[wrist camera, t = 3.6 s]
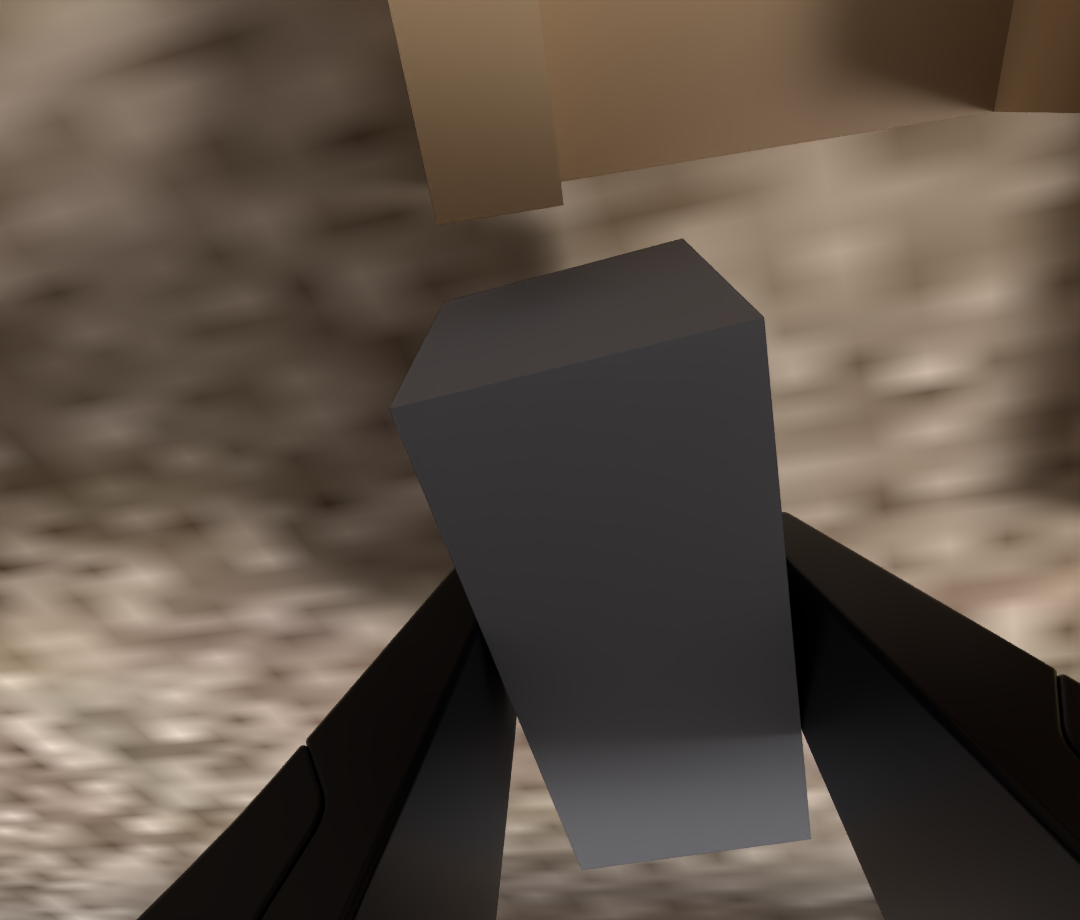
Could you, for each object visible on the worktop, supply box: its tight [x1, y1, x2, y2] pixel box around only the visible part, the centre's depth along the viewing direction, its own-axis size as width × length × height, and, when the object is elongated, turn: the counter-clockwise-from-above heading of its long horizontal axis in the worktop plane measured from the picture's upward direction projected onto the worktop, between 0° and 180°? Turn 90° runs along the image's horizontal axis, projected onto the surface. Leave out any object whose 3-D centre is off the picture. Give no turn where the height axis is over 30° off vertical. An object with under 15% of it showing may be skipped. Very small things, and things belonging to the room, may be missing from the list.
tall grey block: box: [389, 239, 811, 870], centre depth 8 cm, size 7×3×3 cm, turn 15°
